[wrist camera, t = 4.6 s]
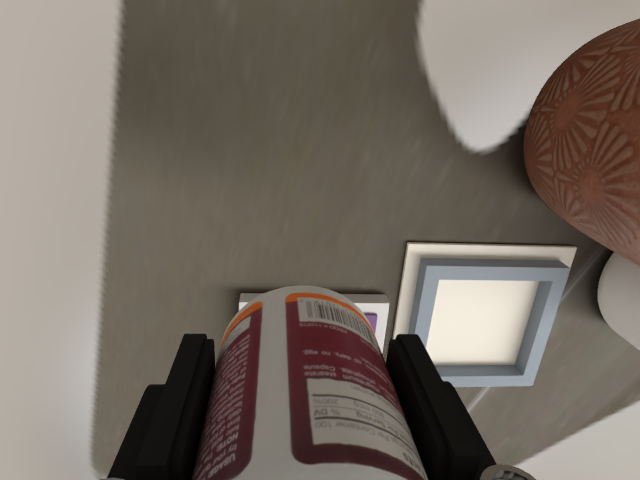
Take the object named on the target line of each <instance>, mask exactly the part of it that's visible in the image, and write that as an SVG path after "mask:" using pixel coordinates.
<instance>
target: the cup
mask: <svg viewBox="0 0 640 480" xmlns="http://www.w3.org/2000/svg"><path fill="white" fill-rule="evenodd" d="M598 305H599V308H600V311H601V314H602V316H603V318H604V320H605V321H606V322H607V324H608V325H609V326H610V327H611V328H612V329H613V330H614V331H615V332H616V333H618V334H619V335H620V336H622V337H623V338H624V339H625V340H627V341H628V342H629V343H631V344H632V345H633V346H635V347H636V348H637V349H638V350H640V267H639V266H638V265H636V264H634V263H632V262H631V261H629V260H627V259H625V258H624V257H622V256H620V255H619V254H617V253H615V252H614V253H613V254H612V255H611V257H610V258H609V260H608V261H607V263H606V265H605V267H604V269H603V271H602V274H601V276H600V280H599V284H598Z"/></svg>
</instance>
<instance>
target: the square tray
mask: <svg viewBox="0 0 640 480" xmlns="http://www.w3.org/2000/svg"><path fill="white" fill-rule="evenodd" d="M576 250H577V247H575V246H555V245H511V244H467V243H424V242H407V247H406V253H405V260H404V266H403V273H402V279H401V286H400V293H399V299H398V306H397V312H396V319H395V325H394V332H393V338H392V339H396V336H397V335H398V334H417V335H418V336H419V337H420V339H421V341H422V343H423V344H424V346H425V348H426V350H427V352H428V354H429V356H430V358H431V360H432V362H433V363H434V365H435V367H436V369H437V371H438V373H439V375H440V377H441V379H442V380H443V381H448V382H450V383H451V384H452V385H453V387H495V386H533V383H534V380H535V377H536V373H537V370H538V367H539V364H540V361H541V358H542V355H543V352H544V349H545V346H546V343H547V340H548V337H549V334H550V331H551V328H552V325H553V321H554V318H555V315H556V312H557V309H558V306H559V303H560V300H561V297H562V294H563V291H564V288H565V285H566V282H567V279H568V276H569V273H570V269H571V265H572V262H573V259H574V256H575V253H576Z"/></svg>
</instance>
